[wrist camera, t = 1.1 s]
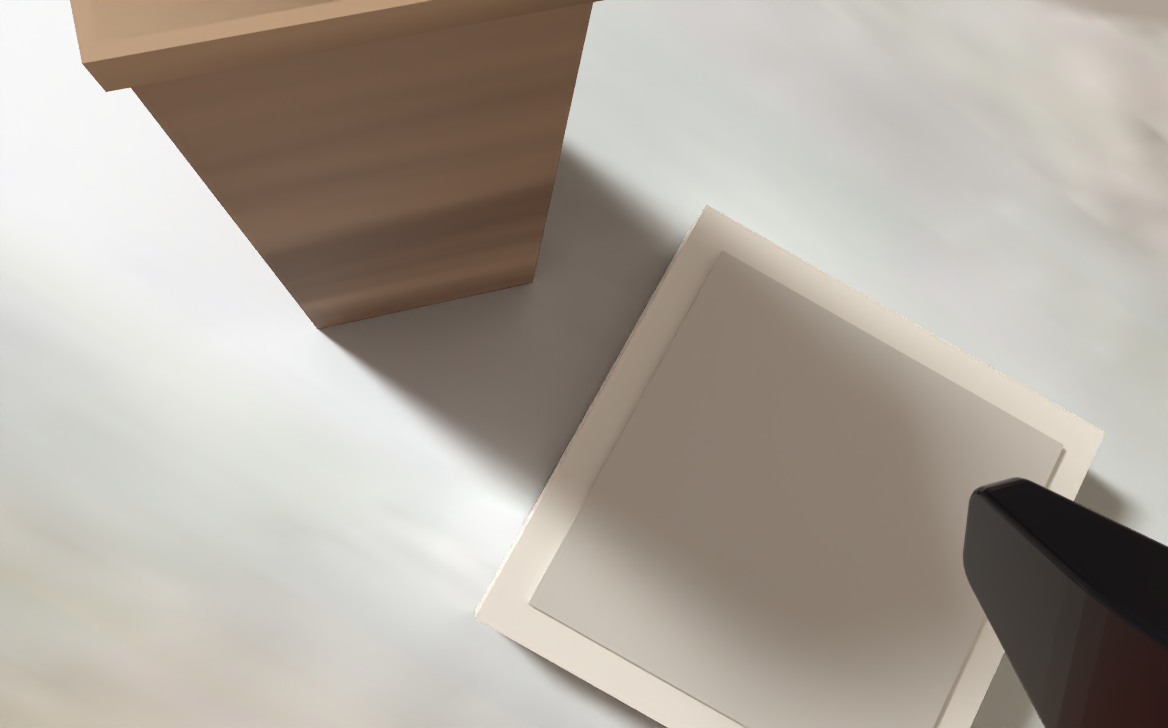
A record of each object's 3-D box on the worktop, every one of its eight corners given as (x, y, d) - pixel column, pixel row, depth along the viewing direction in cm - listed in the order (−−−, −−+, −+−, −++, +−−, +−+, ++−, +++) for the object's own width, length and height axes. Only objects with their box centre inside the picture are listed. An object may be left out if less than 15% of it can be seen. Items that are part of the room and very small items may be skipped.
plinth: (1052, 441, 23) (1109, 431, 21) (868, 833, 22) (911, 866, 19) (686, 232, 23) (708, 202, 21) (475, 610, 21) (474, 618, 19)
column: (540, 287, 23) (623, -34, 10) (311, 337, 22) (81, 62, 9) (488, 74, 23) (503, -488, 10) (264, 117, 23) (-13, -425, 10)
